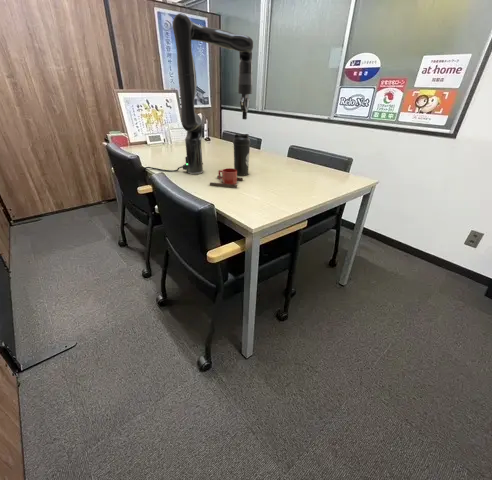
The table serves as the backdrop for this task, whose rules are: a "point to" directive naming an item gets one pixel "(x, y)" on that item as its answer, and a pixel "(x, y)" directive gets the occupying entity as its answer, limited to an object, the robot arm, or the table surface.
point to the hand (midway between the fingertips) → (244, 119)
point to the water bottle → (241, 154)
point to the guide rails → (225, 184)
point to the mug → (228, 176)
